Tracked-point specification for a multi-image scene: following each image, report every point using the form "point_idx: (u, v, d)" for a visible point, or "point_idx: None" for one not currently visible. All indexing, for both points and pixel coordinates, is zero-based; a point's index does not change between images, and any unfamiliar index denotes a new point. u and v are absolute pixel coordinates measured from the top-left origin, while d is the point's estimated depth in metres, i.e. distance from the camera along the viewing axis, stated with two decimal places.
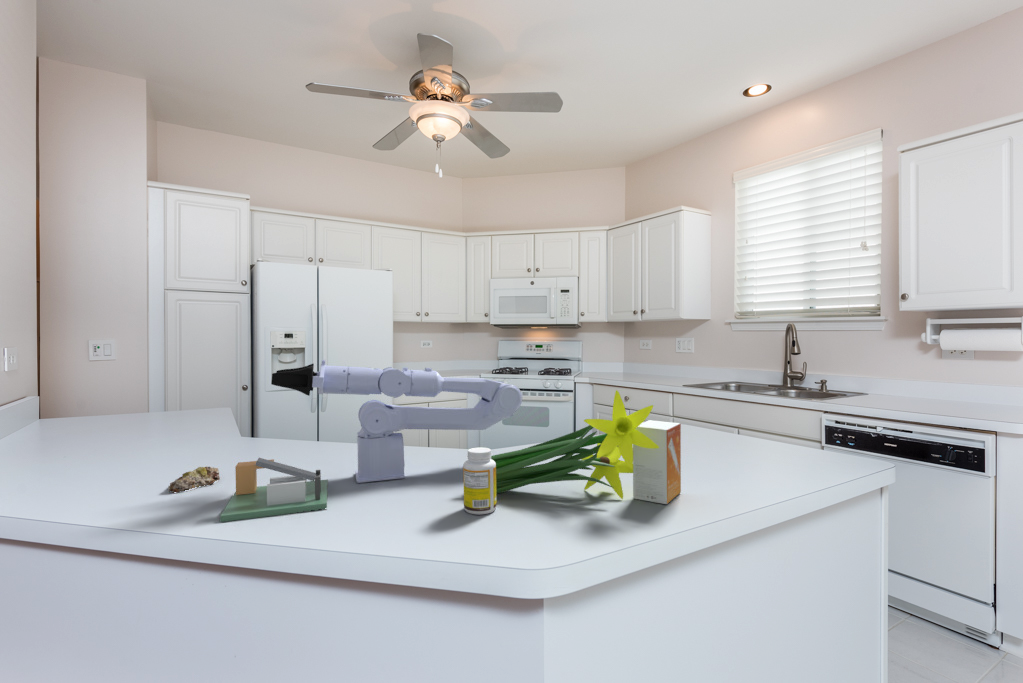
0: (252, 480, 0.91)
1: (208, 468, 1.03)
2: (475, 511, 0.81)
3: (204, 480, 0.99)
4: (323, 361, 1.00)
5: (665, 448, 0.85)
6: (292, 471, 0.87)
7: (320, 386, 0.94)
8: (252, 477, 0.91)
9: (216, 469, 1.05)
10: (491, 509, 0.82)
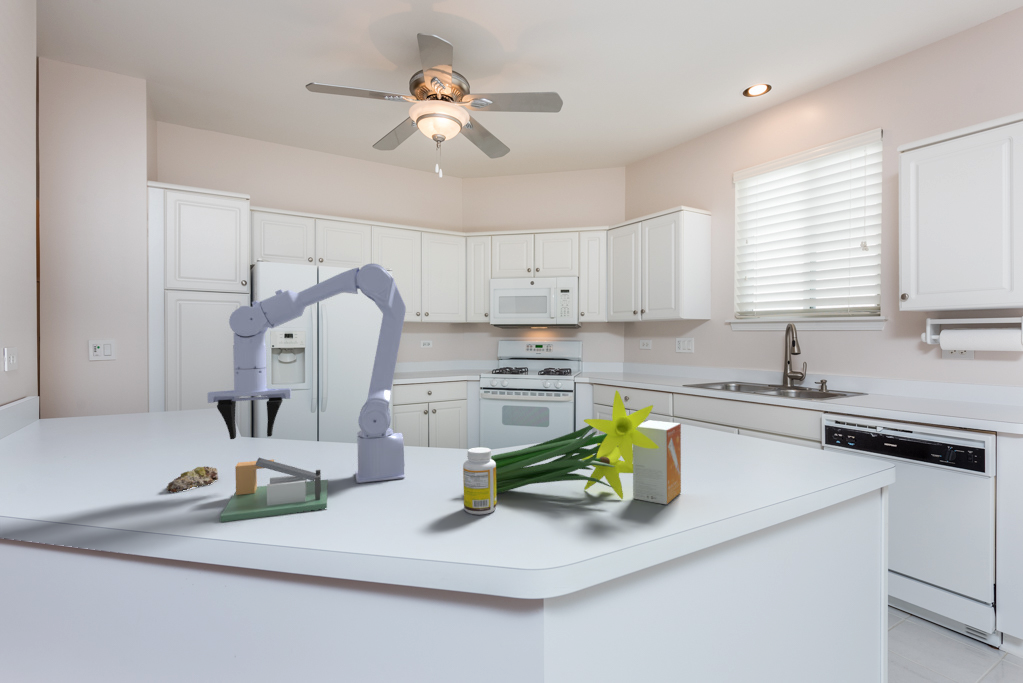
0: (252, 480, 0.91)
1: (206, 468, 1.03)
2: (475, 511, 0.81)
3: (202, 480, 0.99)
4: None
5: (665, 448, 0.85)
6: (292, 471, 0.87)
7: None
8: (252, 477, 0.91)
9: (215, 469, 1.05)
10: (491, 509, 0.82)
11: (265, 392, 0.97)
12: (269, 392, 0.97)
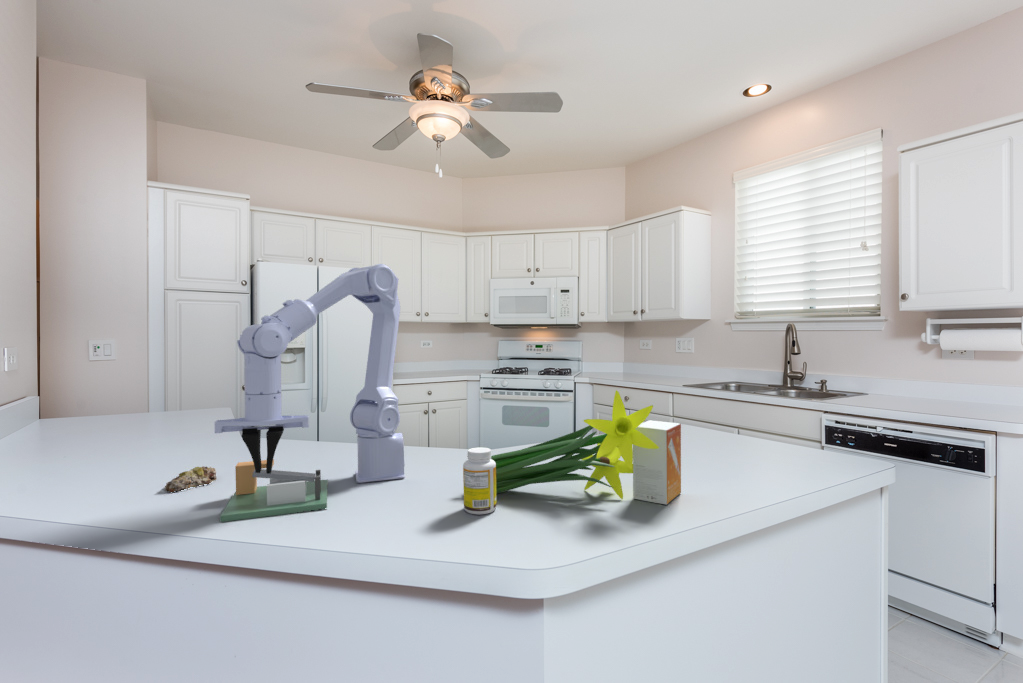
0: (252, 480, 0.91)
1: (205, 468, 1.03)
2: (475, 511, 0.81)
3: (200, 480, 0.99)
4: None
5: (665, 448, 0.85)
6: (290, 476, 0.87)
7: None
8: (252, 477, 0.91)
9: (213, 469, 1.05)
10: (491, 509, 0.82)
11: (280, 421, 0.85)
12: (285, 420, 0.86)
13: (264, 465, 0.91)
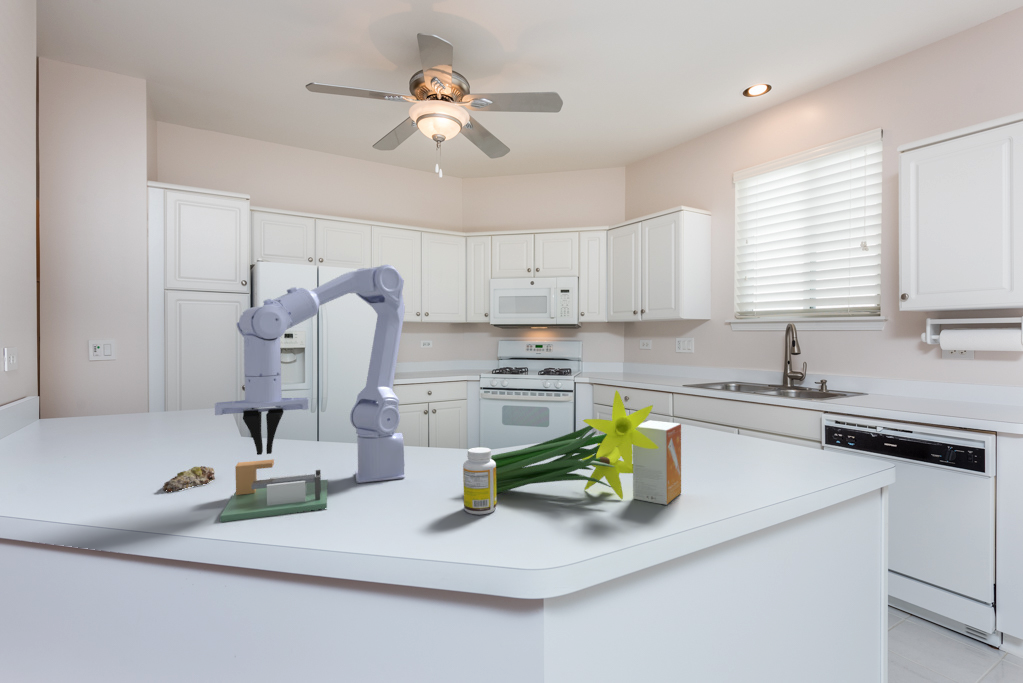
0: (252, 480, 0.91)
1: (203, 468, 1.04)
2: (475, 511, 0.81)
3: (198, 480, 0.99)
4: None
5: (665, 449, 0.85)
6: (290, 481, 0.87)
7: None
8: (252, 477, 0.91)
9: (211, 469, 1.05)
10: (491, 509, 0.82)
11: (281, 402, 0.86)
12: (285, 402, 0.86)
13: (264, 465, 0.91)
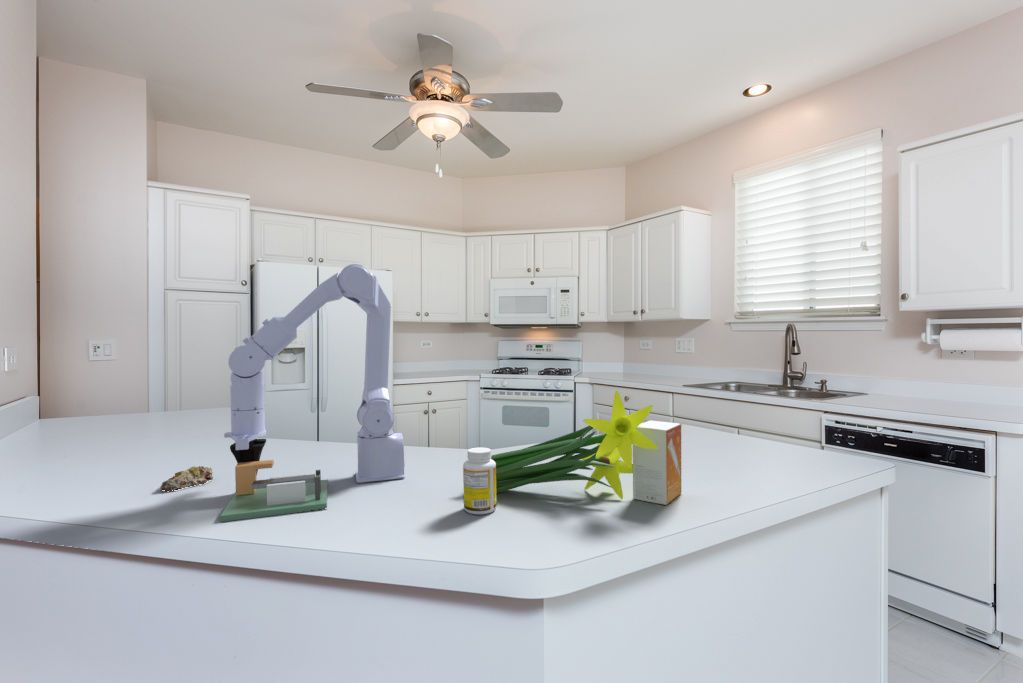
0: (252, 480, 0.91)
1: (201, 468, 1.04)
2: (475, 511, 0.81)
3: (196, 480, 1.00)
4: (225, 435, 0.93)
5: (665, 449, 0.85)
6: (290, 481, 0.87)
7: (246, 441, 0.88)
8: (252, 477, 0.91)
9: (210, 469, 1.05)
10: (491, 509, 0.82)
11: None
12: None
13: (264, 465, 0.91)
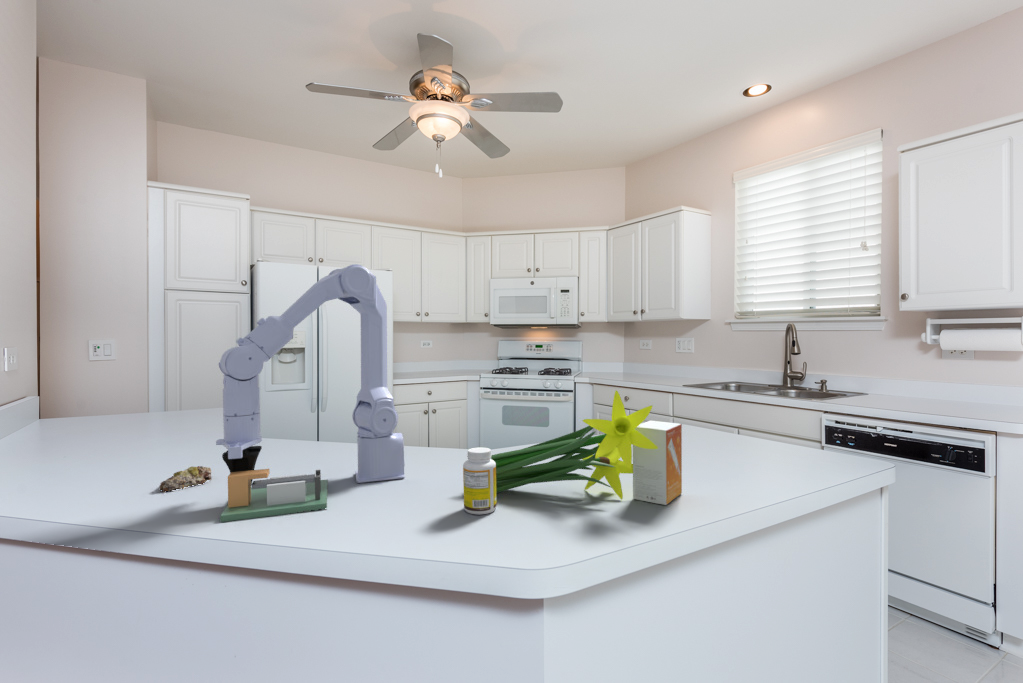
0: (246, 491, 0.84)
1: (200, 468, 1.04)
2: (475, 511, 0.81)
3: (195, 480, 1.00)
4: (217, 443, 0.86)
5: (665, 449, 0.85)
6: (290, 481, 0.87)
7: (240, 449, 0.82)
8: (246, 488, 0.84)
9: (208, 469, 1.05)
10: (491, 509, 0.82)
11: None
12: None
13: (259, 475, 0.85)
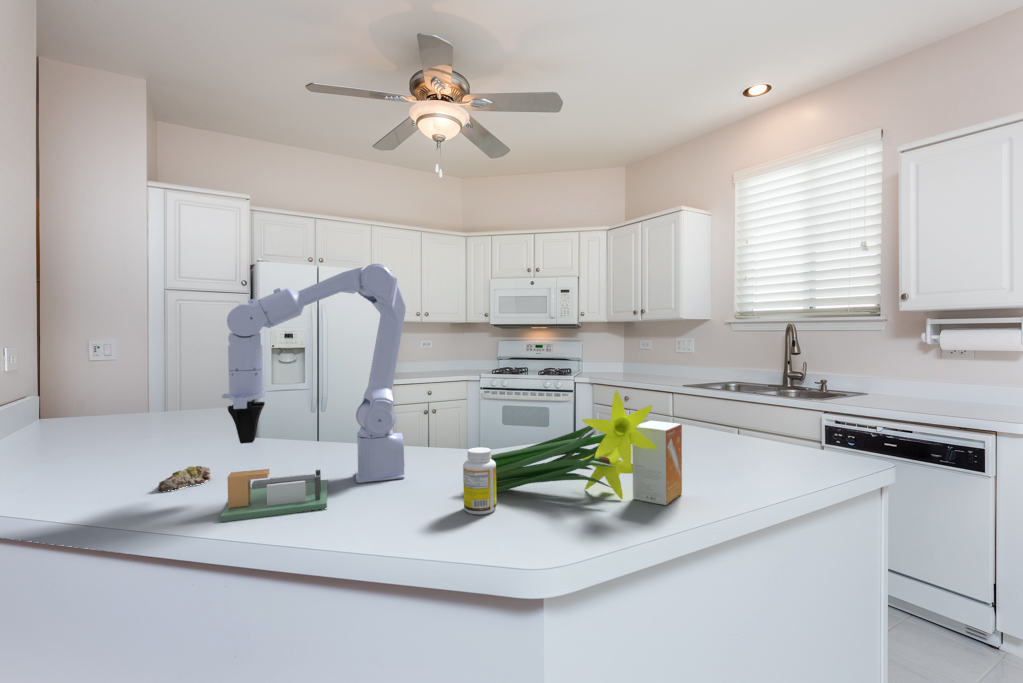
0: (246, 492, 0.84)
1: (199, 468, 1.04)
2: (475, 511, 0.81)
3: (193, 480, 1.00)
4: (223, 396, 0.91)
5: (664, 449, 0.85)
6: (290, 481, 0.87)
7: (244, 400, 0.87)
8: (246, 488, 0.84)
9: (207, 469, 1.05)
10: (491, 509, 0.82)
11: None
12: None
13: (259, 475, 0.85)
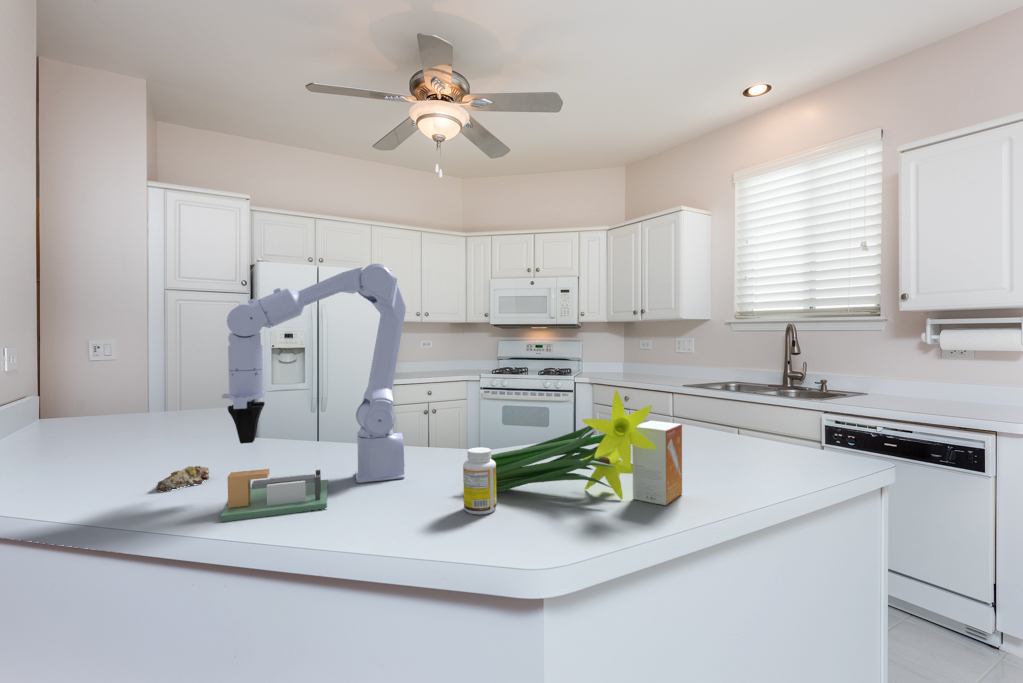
0: (246, 492, 0.84)
1: (198, 467, 1.04)
2: (475, 511, 0.81)
3: (192, 480, 1.00)
4: (223, 396, 0.91)
5: (664, 449, 0.85)
6: (290, 481, 0.87)
7: (244, 400, 0.87)
8: (246, 488, 0.84)
9: (206, 469, 1.05)
10: (491, 509, 0.82)
11: None
12: None
13: (259, 475, 0.85)
